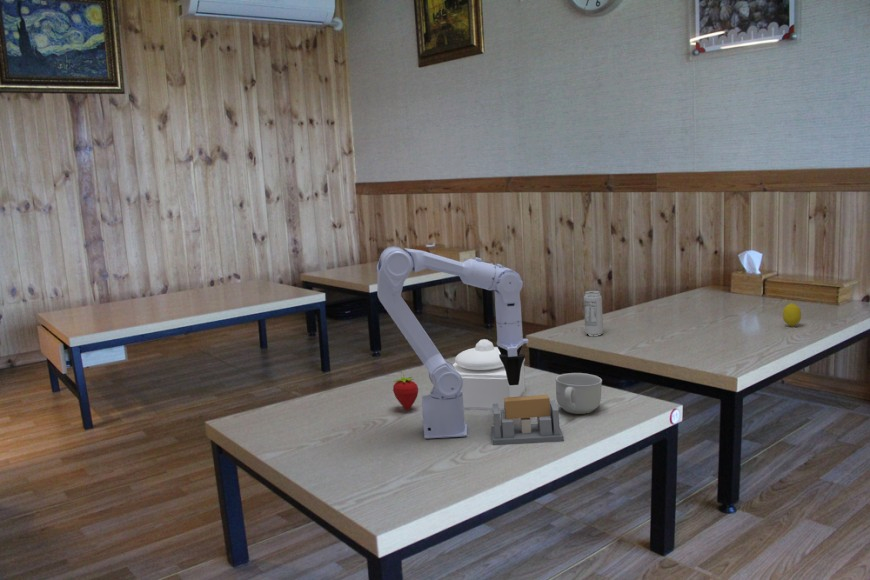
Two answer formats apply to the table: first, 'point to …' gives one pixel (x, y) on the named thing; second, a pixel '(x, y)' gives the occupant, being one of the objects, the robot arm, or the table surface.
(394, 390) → the strawberry
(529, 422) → the display stand
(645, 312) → the table surface
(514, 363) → the robot arm
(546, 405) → the orange-brown rectangular block
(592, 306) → the energy drink can
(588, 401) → the teacup
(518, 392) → the butter dish
